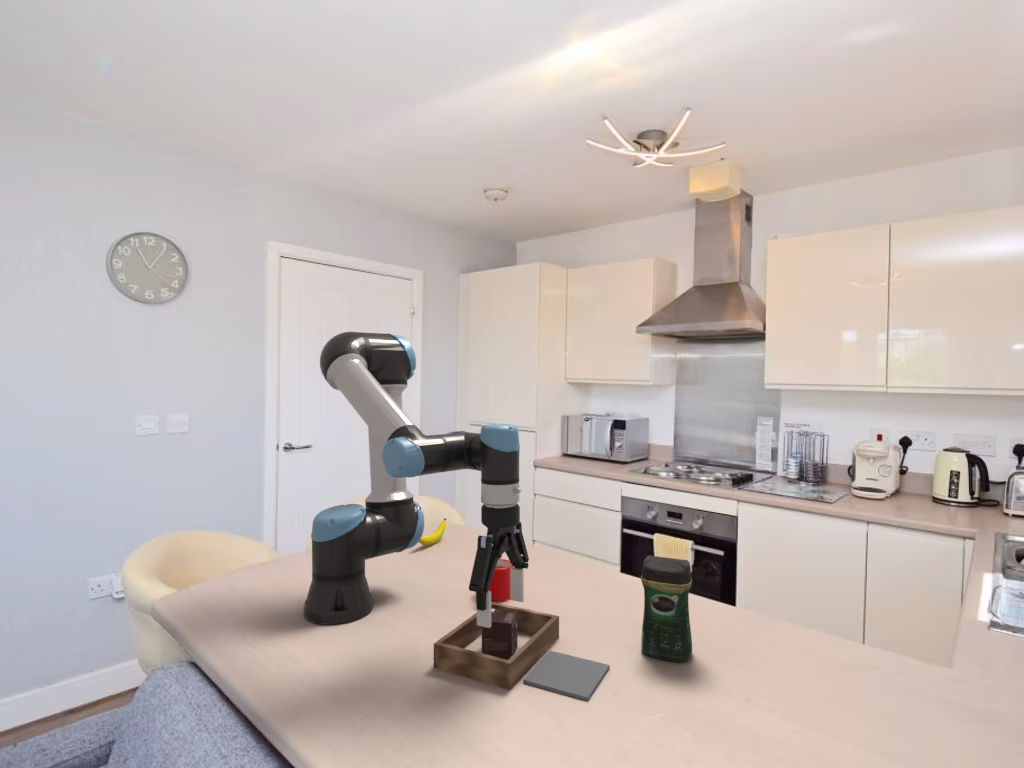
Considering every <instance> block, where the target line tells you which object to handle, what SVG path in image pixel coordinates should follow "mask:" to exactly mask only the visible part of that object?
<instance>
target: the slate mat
mask: <svg viewBox="0 0 1024 768" xmlns="http://www.w3.org/2000/svg"><path fill="white" fill-rule="evenodd" d="M610 667H611V666H610V664H608V663H603V662H599V661H596V660H590V659H586V658H583V657H578V656H575V655H570V654H565V653H562V652H558V651H553V650H549V651H548V652H546V654H545V655H544V657H543V658H542V659H541V660H540V661H539V662H538V663H537V664H536V665H535V666H534V667H533V668H532V670H531V671H529V673H528V674H527V675H526V676H525V677H523V680H522V683H523V684H525V685H528V686H532V687H536V688H538V689H543V690H547V691H549V692H550V691H551V692H555V693H558V694H561V695H563V696H569V697H571V698H575V699H579V700H583V701H586V702H589V700H590V699H591V698H592V696H593V694H594V692H595V691H596V689H597V688H598V687H599V685H600V684H601V682H602V680H603V679H604V677H605V676H606V675H607V673H608V671H609V670H610Z"/></svg>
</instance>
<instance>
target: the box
mask: <svg viewBox="0 0 1024 768" xmlns="http://www.w3.org/2000/svg"><path fill="white" fill-rule="evenodd" d="M517 648H518V631H517V611H514V610H501V609H491V627H490V628H487V627H482V634H481V653H483V654H487V655H490V656H494V657H498V658H502V659H506V660H509V659H510V658H511V657H512V656H513V655H514V654H515V653H516V652H517Z"/></svg>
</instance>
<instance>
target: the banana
mask: <svg viewBox="0 0 1024 768" xmlns="http://www.w3.org/2000/svg"><path fill="white" fill-rule="evenodd" d="M446 521H447V518H443V520H442V521H441V522H440V523H439V525H438V527H437V528H436V530H435V531H434V532H433V533H431V534H428V535H424V536H423V535H422V537H421V539H420V540H419V541H418V543H419V544H420V545H422V546H431V545H434V544H436V543H438V542H439V541H441V539H442V538H443V537H444V533H445V530H446V528H447V527H446V524H447V522H446Z"/></svg>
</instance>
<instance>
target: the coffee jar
mask: <svg viewBox="0 0 1024 768" xmlns="http://www.w3.org/2000/svg"><path fill="white" fill-rule="evenodd" d="M691 569H692V568H691V564H690V561H689V560H688V559H679V558H671V557H665V556H655V555H647V557H645V559H644V560H643V563H642V568H641V576H640V579H641V584H642V588H643V591H644V592H643V593H644V598H643V599H644V603H643V604H644V605H643V616H642V617H643V618H642V628H641V637H640V638H641V640H640V642H641V643H640V645H641V646H640V648H641V651H642V652H643V653H644V654H645V655H647V656H648V657H653V658H656V659H658V660H659V659H660V660H665V661H666V660H667V661H672V662H680V663H682V662H685V661H687V660H689V659H690V658H691V656H692V654H693V638H692V629H691V622H690V610H689V609H690V608H689V607H690V606H689V594H690V590H691V588H692V584H693V578H692V577H693V576H692V570H691Z"/></svg>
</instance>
